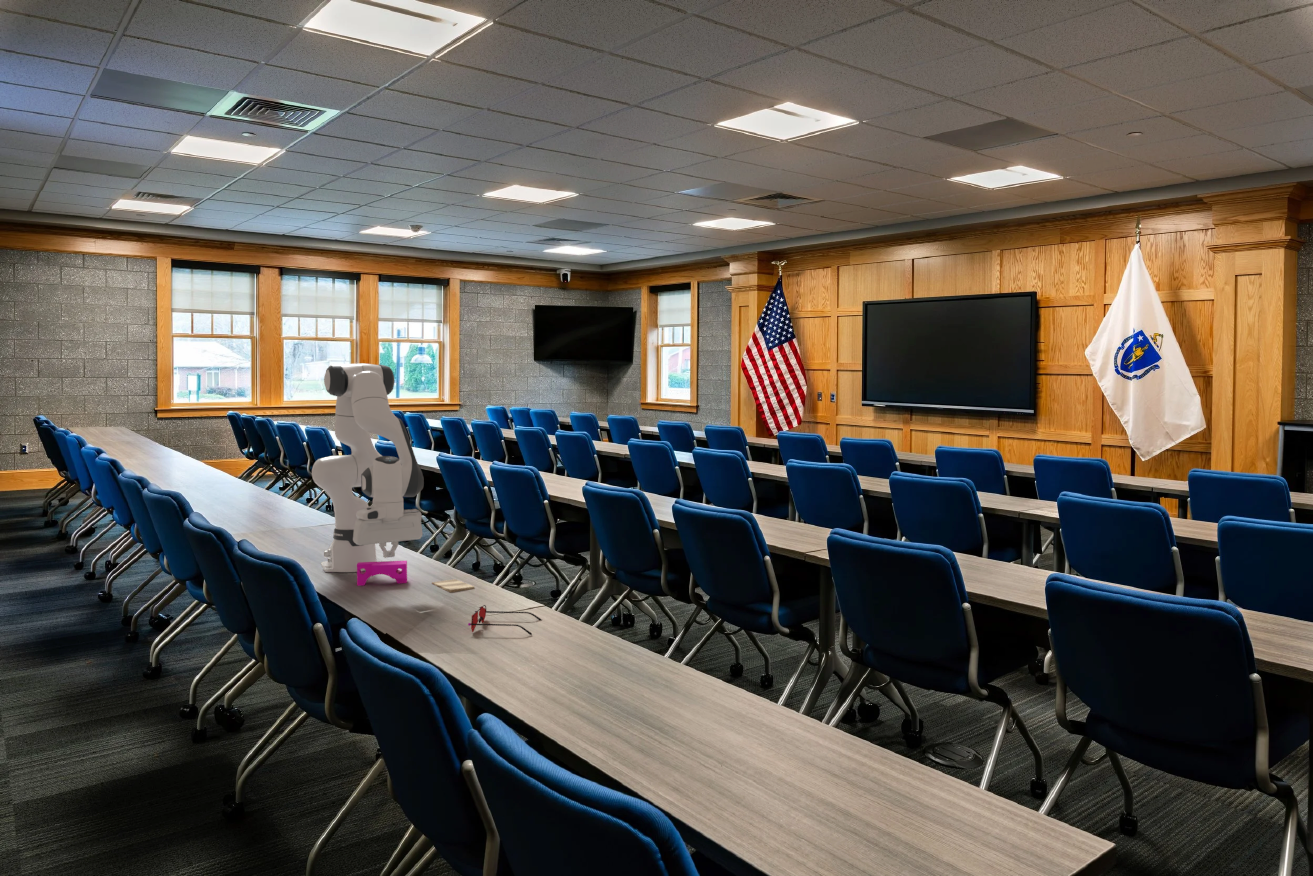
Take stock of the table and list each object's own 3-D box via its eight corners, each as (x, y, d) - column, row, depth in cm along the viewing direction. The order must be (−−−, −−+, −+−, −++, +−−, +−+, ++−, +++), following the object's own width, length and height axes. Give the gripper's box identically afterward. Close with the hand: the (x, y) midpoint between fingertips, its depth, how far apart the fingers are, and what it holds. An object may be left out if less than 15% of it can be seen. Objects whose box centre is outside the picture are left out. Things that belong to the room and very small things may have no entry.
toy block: (405, 564, 281) (406, 587, 281) (407, 560, 287) (407, 583, 287) (355, 566, 277) (356, 589, 278) (358, 562, 284) (358, 585, 284)
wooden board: (431, 586, 282) (431, 582, 282) (455, 582, 287) (455, 579, 287) (450, 593, 271) (450, 590, 271) (474, 590, 276) (474, 586, 276)
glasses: (482, 620, 241) (482, 602, 240) (542, 621, 239) (542, 603, 239) (467, 634, 227) (467, 615, 226) (531, 635, 225) (531, 616, 225)
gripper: (417, 507, 274) (417, 551, 275) (350, 512, 262) (351, 559, 262) (425, 509, 269) (426, 554, 270) (358, 514, 257) (359, 562, 258)
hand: (389, 557), depth 266 cm, fingers closed
